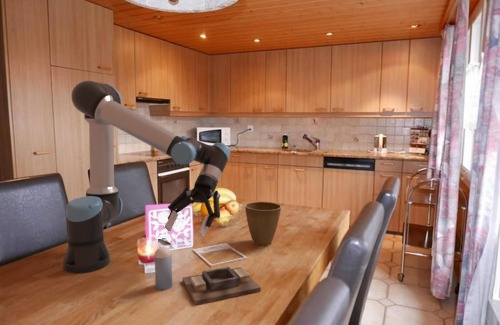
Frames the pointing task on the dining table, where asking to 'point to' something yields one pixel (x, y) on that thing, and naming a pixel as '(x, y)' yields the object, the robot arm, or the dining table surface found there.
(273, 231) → the plant pot
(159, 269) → the grey cylinder bottle
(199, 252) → the photo frame
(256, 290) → the jig board
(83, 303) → the dining table surface
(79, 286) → the dining table surface
